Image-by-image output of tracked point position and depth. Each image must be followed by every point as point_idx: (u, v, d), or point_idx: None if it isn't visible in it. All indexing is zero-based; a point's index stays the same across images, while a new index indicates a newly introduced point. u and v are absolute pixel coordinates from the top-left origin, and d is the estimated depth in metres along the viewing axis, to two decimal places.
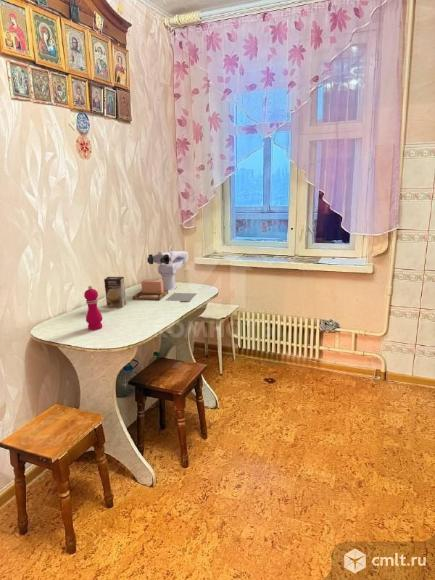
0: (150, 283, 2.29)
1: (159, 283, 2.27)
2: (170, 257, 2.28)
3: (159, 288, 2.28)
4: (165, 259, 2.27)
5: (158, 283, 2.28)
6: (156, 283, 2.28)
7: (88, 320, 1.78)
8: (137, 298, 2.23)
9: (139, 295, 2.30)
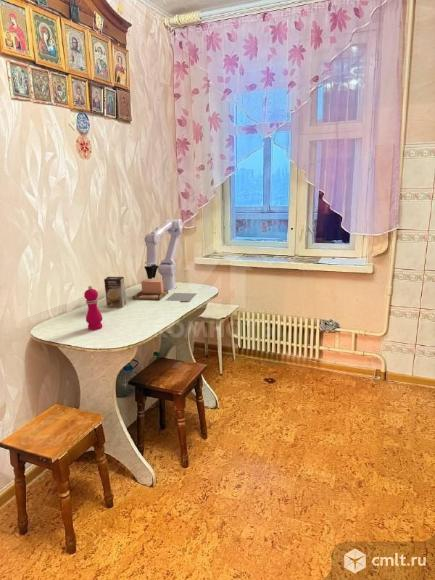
0: (150, 283, 2.29)
1: (159, 283, 2.27)
2: (146, 266, 2.21)
3: (159, 288, 2.28)
4: (149, 268, 2.24)
5: (158, 283, 2.28)
6: (156, 283, 2.28)
7: (88, 320, 1.78)
8: (137, 298, 2.23)
9: (139, 295, 2.30)
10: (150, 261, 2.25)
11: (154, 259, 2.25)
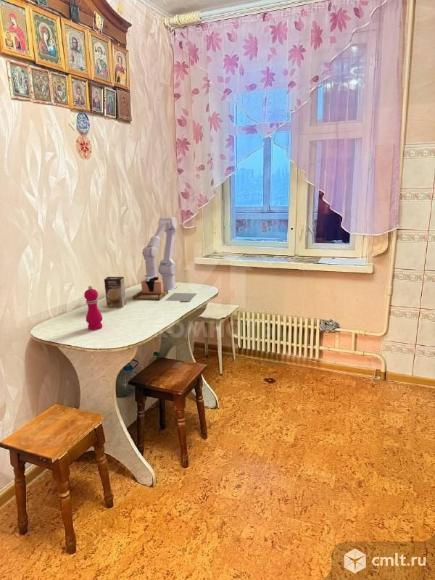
0: None
1: (159, 283, 2.27)
2: (145, 281, 2.23)
3: (159, 288, 2.28)
4: None
5: (158, 283, 2.28)
6: (156, 283, 2.28)
7: (88, 320, 1.78)
8: (137, 298, 2.23)
9: (139, 295, 2.30)
10: (149, 275, 2.26)
11: (153, 272, 2.26)
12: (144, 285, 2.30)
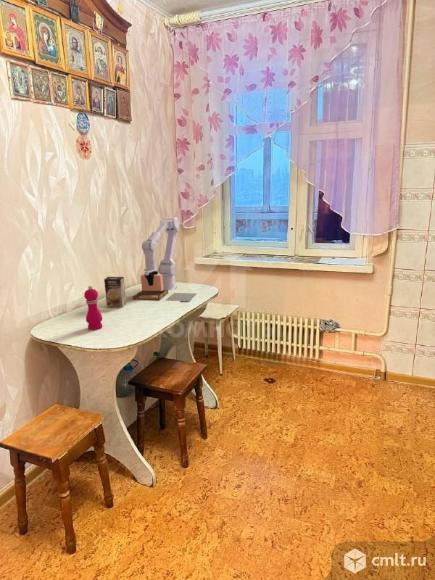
0: None
1: (159, 277, 2.26)
2: (145, 275, 2.22)
3: (159, 282, 2.27)
4: None
5: (157, 277, 2.27)
6: (155, 277, 2.27)
7: (88, 320, 1.78)
8: (137, 298, 2.23)
9: (139, 295, 2.30)
10: (149, 269, 2.25)
11: (152, 266, 2.25)
12: (144, 279, 2.29)
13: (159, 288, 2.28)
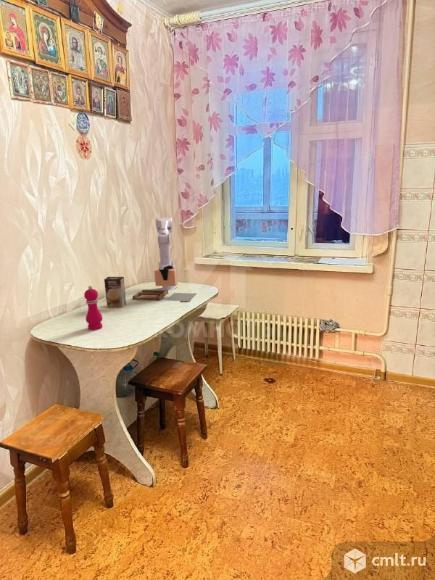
0: None
1: (173, 272, 2.23)
2: (159, 269, 2.18)
3: (173, 277, 2.23)
4: None
5: (171, 272, 2.23)
6: (169, 271, 2.23)
7: (88, 320, 1.78)
8: (137, 298, 2.23)
9: (139, 295, 2.30)
10: (163, 263, 2.21)
11: (167, 261, 2.22)
12: (157, 274, 2.25)
13: (173, 283, 2.24)
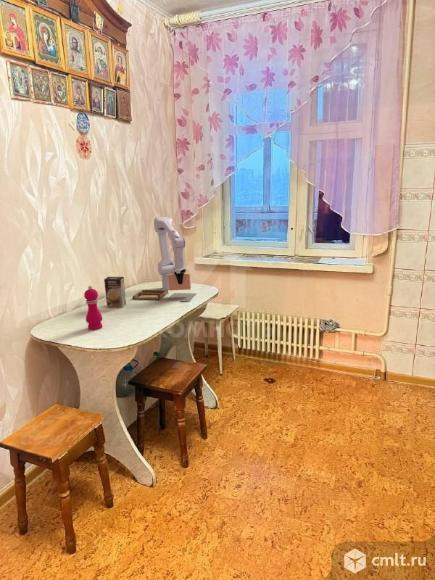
0: None
1: (187, 275, 2.21)
2: (176, 273, 2.16)
3: (187, 280, 2.22)
4: None
5: (186, 276, 2.22)
6: (184, 275, 2.22)
7: (88, 320, 1.78)
8: (137, 298, 2.23)
9: (139, 295, 2.30)
10: (179, 267, 2.19)
11: (182, 264, 2.20)
12: (171, 278, 2.22)
13: (188, 286, 2.23)
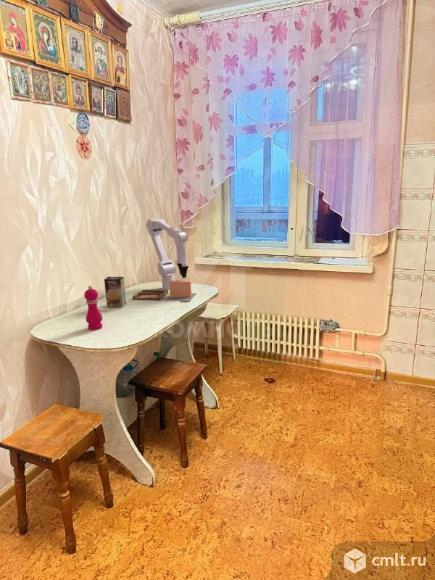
0: (179, 283, 2.23)
1: (188, 283, 2.23)
2: (182, 266, 2.23)
3: (188, 288, 2.23)
4: None
5: (187, 283, 2.23)
6: (185, 283, 2.23)
7: (88, 320, 1.78)
8: (137, 298, 2.23)
9: (139, 295, 2.30)
10: (182, 260, 2.27)
11: (186, 258, 2.28)
12: (172, 286, 2.24)
13: (189, 294, 2.24)
